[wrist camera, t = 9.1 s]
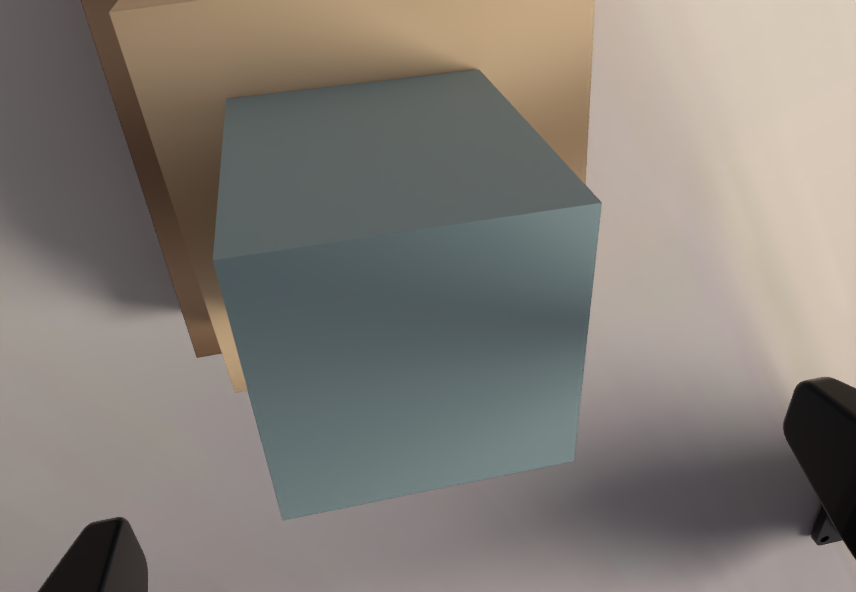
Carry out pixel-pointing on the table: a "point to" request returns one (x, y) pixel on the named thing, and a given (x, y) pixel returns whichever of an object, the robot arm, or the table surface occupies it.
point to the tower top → (335, 79)
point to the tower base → (151, 178)
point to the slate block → (402, 286)
